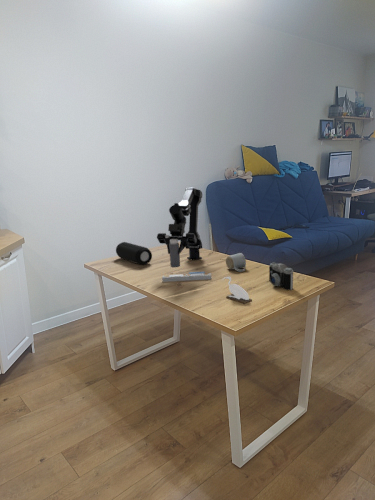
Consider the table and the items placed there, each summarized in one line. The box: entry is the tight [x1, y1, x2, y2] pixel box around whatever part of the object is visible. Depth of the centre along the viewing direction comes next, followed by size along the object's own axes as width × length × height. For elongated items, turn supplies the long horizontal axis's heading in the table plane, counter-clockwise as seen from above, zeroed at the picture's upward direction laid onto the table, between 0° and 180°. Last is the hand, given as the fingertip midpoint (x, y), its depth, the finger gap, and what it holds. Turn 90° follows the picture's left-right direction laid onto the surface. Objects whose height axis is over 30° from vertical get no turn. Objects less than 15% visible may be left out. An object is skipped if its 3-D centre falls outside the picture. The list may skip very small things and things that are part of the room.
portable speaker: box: [115, 241, 153, 266], centre depth 206 cm, size 26×10×10 cm, turn 41°
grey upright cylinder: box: [169, 239, 181, 268], centre depth 171 cm, size 5×5×13 cm
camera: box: [268, 262, 294, 291], centre depth 156 cm, size 15×7×10 cm, turn 21°
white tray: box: [161, 271, 212, 283], centre depth 174 cm, size 23×12×2 cm, turn 91°
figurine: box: [221, 276, 253, 305], centre depth 145 cm, size 14×4×9 cm, turn 42°
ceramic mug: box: [225, 252, 247, 273], centre depth 182 cm, size 11×8×8 cm
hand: (173, 253), depth 169 cm, fingers closed on grey upright cylinder, 5 cm apart
